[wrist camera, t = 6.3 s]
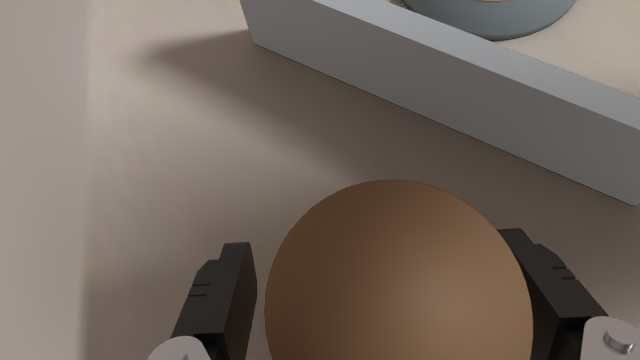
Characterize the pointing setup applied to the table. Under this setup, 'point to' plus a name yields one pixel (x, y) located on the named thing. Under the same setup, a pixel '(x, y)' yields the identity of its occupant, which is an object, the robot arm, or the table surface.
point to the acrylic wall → (464, 85)
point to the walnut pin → (396, 281)
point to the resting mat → (493, 15)
